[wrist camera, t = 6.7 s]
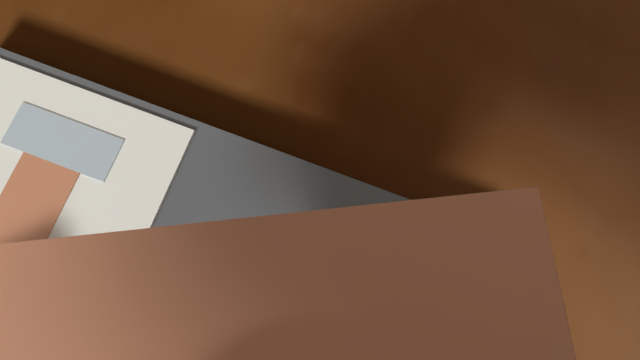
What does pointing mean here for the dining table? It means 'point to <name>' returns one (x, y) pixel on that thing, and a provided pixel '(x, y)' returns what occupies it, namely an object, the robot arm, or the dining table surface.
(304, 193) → the board
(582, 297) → the dining table surface
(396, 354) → the pillar block
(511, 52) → the dining table surface
